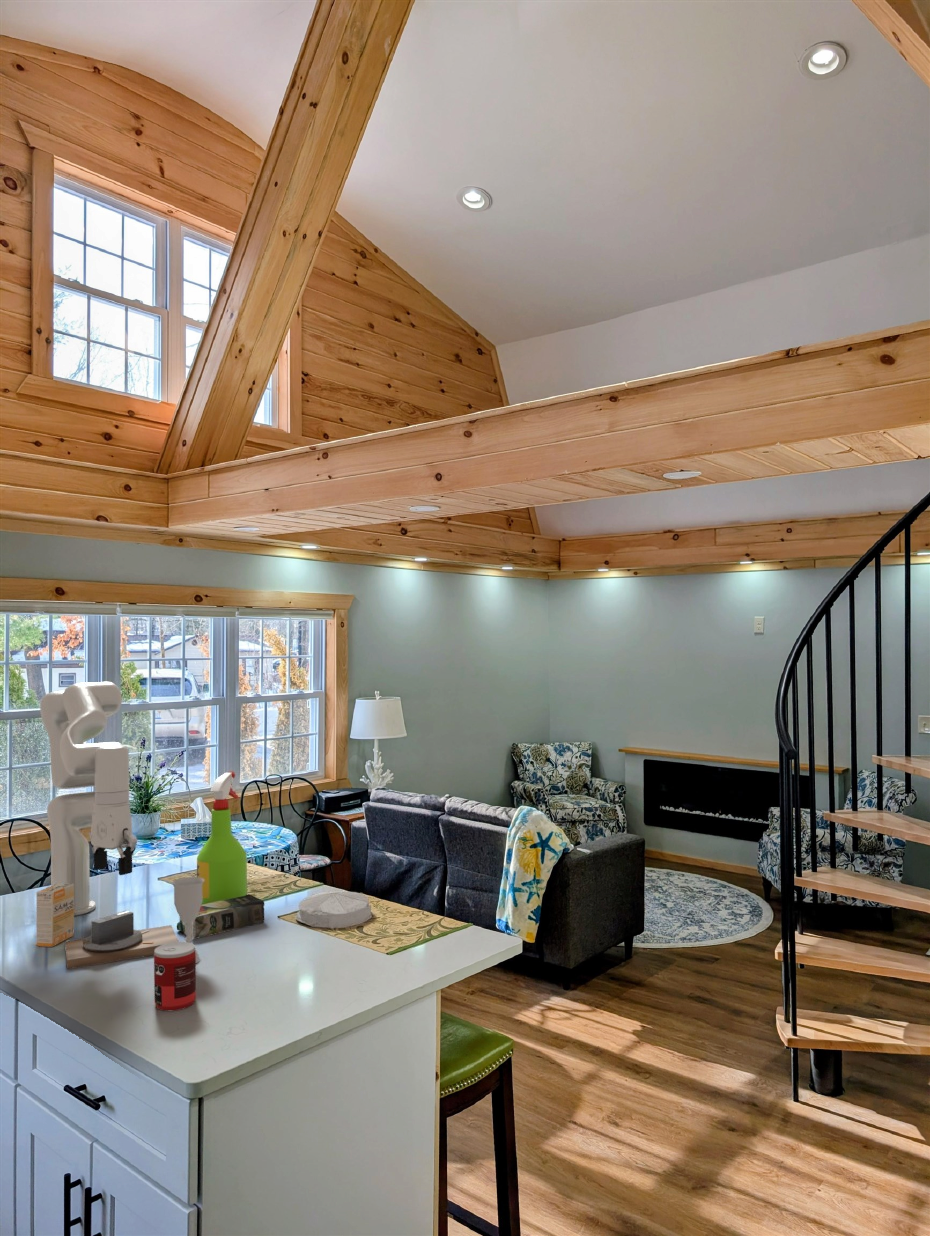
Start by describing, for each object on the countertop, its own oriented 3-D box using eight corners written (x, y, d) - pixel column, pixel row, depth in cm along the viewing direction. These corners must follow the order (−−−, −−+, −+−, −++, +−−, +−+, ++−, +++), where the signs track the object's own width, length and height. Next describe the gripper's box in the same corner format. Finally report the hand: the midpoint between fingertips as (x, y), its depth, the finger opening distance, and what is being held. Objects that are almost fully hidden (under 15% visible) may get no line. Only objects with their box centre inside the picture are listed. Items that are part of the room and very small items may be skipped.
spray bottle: (260, 888, 255) (259, 769, 255) (235, 907, 237) (234, 778, 238) (216, 887, 256) (215, 769, 257) (188, 906, 238) (187, 778, 239)
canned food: (160, 996, 177) (159, 942, 177) (199, 994, 178) (199, 940, 178) (149, 1012, 169) (149, 955, 170) (191, 1010, 170) (190, 953, 170)
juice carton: (189, 941, 211) (189, 916, 211) (174, 931, 218) (174, 907, 218) (265, 924, 223) (265, 900, 223) (249, 916, 231) (249, 892, 231)
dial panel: (65, 949, 206) (65, 940, 206) (171, 933, 216) (171, 924, 216) (67, 969, 193) (67, 959, 193) (179, 950, 204) (179, 941, 204)
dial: (104, 956, 195) (104, 928, 195) (71, 945, 202) (71, 919, 202) (153, 939, 206) (153, 913, 206) (120, 929, 213) (120, 904, 213)
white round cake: (375, 906, 238) (374, 881, 238) (369, 928, 218) (368, 901, 218) (302, 908, 237) (301, 883, 237) (289, 931, 217) (289, 903, 218)
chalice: (211, 957, 199) (210, 878, 199) (193, 968, 192) (192, 886, 193) (184, 954, 201) (184, 876, 202) (165, 964, 195) (165, 884, 195)
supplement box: (53, 947, 207) (53, 892, 208) (35, 946, 208) (35, 891, 209) (75, 936, 215) (75, 883, 216) (58, 935, 216) (57, 882, 217)
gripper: (76, 798, 206) (76, 870, 206) (120, 803, 197) (121, 879, 196) (104, 793, 213) (105, 863, 212) (148, 798, 203) (149, 872, 202)
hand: (112, 871), depth 204 cm, fingers open, 9 cm apart
